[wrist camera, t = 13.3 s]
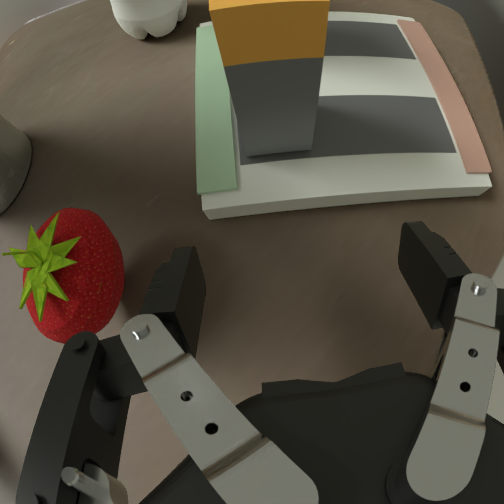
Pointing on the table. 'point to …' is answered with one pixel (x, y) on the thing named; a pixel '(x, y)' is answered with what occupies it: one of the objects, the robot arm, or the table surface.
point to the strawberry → (71, 274)
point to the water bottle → (148, 16)
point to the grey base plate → (345, 127)
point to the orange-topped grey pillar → (272, 68)
